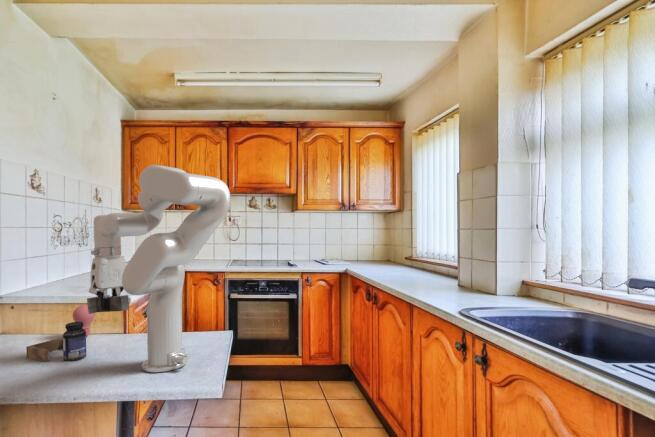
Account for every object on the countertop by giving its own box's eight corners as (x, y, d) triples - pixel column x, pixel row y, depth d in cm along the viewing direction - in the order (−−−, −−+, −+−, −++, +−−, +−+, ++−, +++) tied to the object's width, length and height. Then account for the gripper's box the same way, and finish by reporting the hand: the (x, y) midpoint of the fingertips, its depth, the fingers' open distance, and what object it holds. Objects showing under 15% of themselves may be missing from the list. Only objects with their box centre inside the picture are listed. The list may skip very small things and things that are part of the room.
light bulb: (85, 339, 140) (84, 307, 140) (68, 339, 141) (67, 307, 142) (99, 334, 147) (99, 303, 147) (83, 333, 148) (82, 303, 149)
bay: (82, 350, 128) (82, 339, 129) (44, 361, 118) (44, 350, 118) (64, 346, 133) (64, 336, 133) (26, 357, 122) (26, 346, 122)
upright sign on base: (135, 307, 123) (134, 292, 124) (115, 312, 117) (113, 296, 118) (109, 309, 130) (107, 294, 130) (88, 314, 124) (86, 298, 124)
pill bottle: (90, 355, 124) (90, 320, 124) (76, 361, 118) (76, 325, 118) (73, 354, 124) (72, 320, 124) (58, 361, 118) (57, 325, 118)
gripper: (90, 254, 116) (92, 316, 115) (137, 250, 130) (139, 305, 129) (75, 255, 119) (77, 314, 119) (123, 251, 133) (125, 304, 133)
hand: (110, 309), depth 124 cm, fingers closed on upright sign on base
